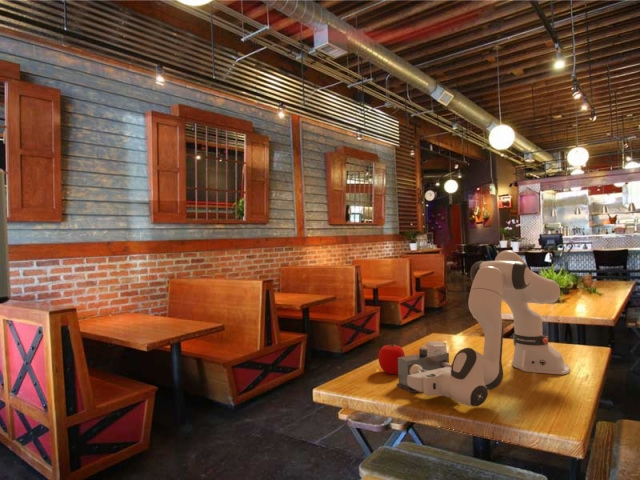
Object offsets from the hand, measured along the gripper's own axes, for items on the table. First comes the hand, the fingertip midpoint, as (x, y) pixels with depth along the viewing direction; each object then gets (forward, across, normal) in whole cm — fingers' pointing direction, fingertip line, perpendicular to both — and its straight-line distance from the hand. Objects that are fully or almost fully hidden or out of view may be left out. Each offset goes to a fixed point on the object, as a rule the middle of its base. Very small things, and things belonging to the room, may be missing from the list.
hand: (419, 372), depth 165 cm
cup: (+15, -22, +7) cm, 27 cm away
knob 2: (0, -15, +3) cm, 15 cm away
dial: (+6, -8, -4) cm, 10 cm away
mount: (+4, -7, +7) cm, 11 cm away
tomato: (+24, -4, +7) cm, 25 cm away
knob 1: (+6, 0, +3) cm, 6 cm away
